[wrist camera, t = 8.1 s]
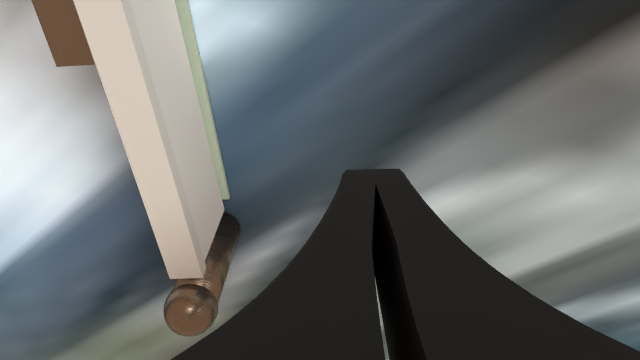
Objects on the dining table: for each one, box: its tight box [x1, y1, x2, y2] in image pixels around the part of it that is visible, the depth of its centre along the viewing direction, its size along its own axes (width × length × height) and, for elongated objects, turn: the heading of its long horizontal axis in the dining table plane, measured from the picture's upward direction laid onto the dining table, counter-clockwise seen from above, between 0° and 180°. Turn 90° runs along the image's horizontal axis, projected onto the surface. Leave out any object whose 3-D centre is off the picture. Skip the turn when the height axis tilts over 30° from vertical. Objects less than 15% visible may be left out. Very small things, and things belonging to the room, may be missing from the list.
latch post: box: [32, 0, 95, 67], centre depth 16 cm, size 2×2×5 cm, turn 4°
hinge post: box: [164, 212, 240, 336], centre depth 21 cm, size 2×2×7 cm
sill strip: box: [174, 0, 230, 200], centre depth 20 cm, size 2×11×1 cm, turn 4°
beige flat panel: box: [73, 0, 224, 279], centre depth 18 cm, size 12×1×5 cm, turn 5°
